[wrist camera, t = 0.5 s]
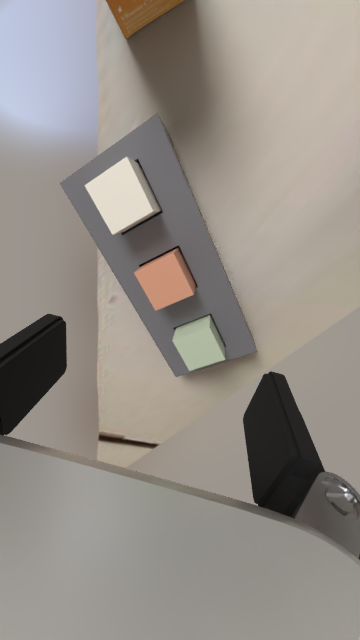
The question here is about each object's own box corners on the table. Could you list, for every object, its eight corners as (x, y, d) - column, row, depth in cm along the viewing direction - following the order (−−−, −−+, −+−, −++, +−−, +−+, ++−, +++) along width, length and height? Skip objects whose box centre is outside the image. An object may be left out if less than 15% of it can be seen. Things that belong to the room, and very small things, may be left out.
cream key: (140, 164, 28) (126, 156, 23) (162, 210, 30) (153, 211, 25) (103, 188, 29) (84, 185, 25) (126, 231, 31) (112, 234, 27)
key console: (164, 125, 28) (157, 113, 24) (252, 338, 39) (257, 351, 35) (76, 186, 32) (59, 183, 28) (178, 363, 43) (175, 377, 39)
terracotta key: (179, 246, 31) (173, 252, 27) (196, 283, 33) (193, 294, 29) (144, 264, 33) (133, 272, 29) (162, 297, 35) (155, 310, 30)
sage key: (209, 311, 35) (209, 326, 30) (223, 341, 37) (225, 359, 32) (177, 324, 37) (172, 340, 32) (192, 352, 38) (189, 370, 34)
